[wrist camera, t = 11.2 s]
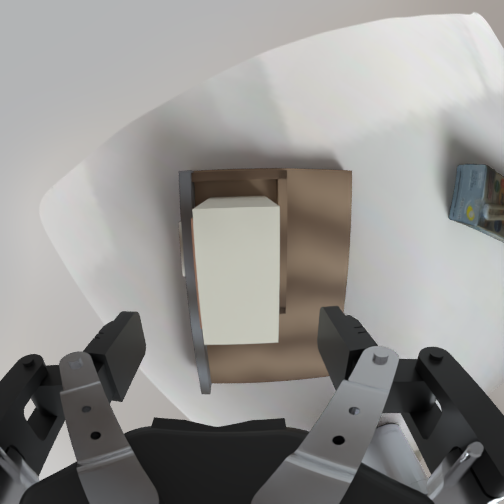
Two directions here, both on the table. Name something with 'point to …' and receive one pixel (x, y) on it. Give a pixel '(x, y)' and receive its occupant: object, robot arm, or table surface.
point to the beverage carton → (479, 199)
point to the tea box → (237, 269)
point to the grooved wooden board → (291, 268)
